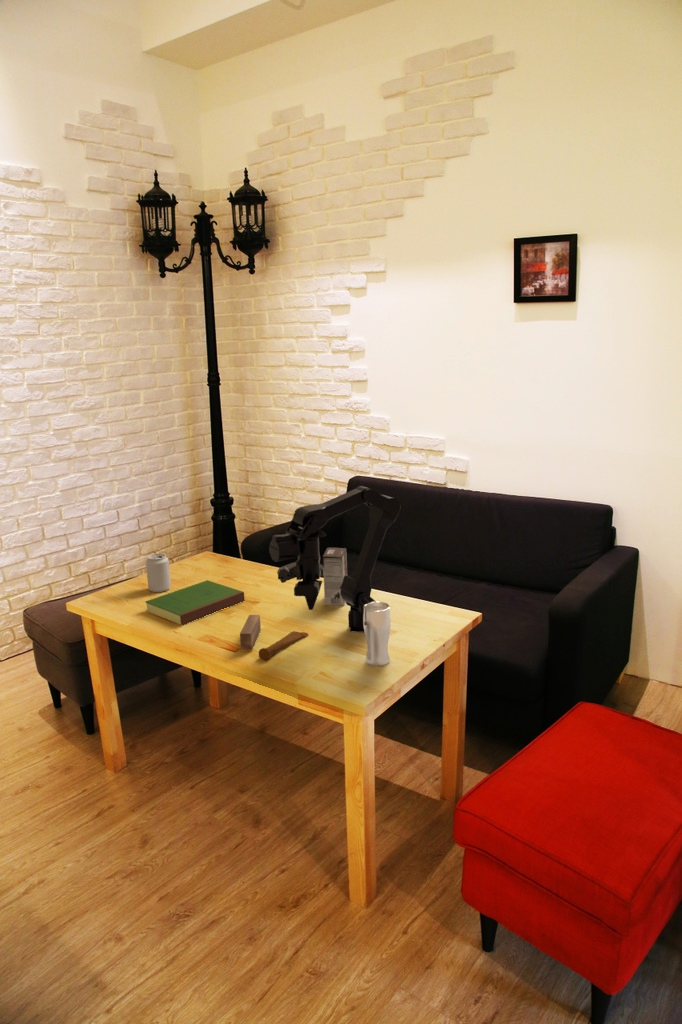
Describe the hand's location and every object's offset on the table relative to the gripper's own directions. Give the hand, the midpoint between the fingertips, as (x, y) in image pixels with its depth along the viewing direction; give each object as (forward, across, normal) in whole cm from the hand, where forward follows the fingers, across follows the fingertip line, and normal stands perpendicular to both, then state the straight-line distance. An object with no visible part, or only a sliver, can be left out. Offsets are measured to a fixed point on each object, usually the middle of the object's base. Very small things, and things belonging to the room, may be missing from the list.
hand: (311, 609), depth 192 cm
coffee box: (+10, -32, +4) cm, 33 cm away
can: (+10, -43, -57) cm, 72 cm away
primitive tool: (+10, +2, -8) cm, 13 cm away
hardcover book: (+10, -28, -40) cm, 50 cm away
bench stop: (+10, -1, -17) cm, 20 cm away
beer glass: (+10, +11, +18) cm, 24 cm away
